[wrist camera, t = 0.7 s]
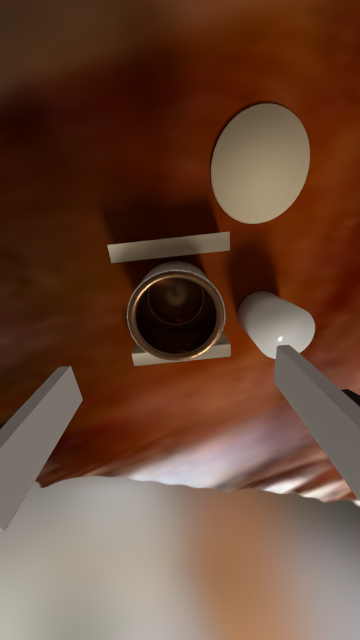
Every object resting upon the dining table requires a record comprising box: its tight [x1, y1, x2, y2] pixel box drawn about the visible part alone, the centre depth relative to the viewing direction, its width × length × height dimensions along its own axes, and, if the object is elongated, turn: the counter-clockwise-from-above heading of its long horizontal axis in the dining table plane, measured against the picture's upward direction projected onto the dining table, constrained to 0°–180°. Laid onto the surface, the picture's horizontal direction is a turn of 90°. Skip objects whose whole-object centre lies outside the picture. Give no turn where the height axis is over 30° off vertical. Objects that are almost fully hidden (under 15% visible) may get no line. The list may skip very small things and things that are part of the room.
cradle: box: [108, 232, 231, 366], centre depth 28 cm, size 16×14×5 cm
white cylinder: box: [238, 291, 315, 359], centre depth 28 cm, size 7×7×8 cm
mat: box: [211, 103, 310, 224], centre depth 24 cm, size 12×12×1 cm
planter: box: [127, 261, 225, 361], centre depth 26 cm, size 11×11×10 cm
